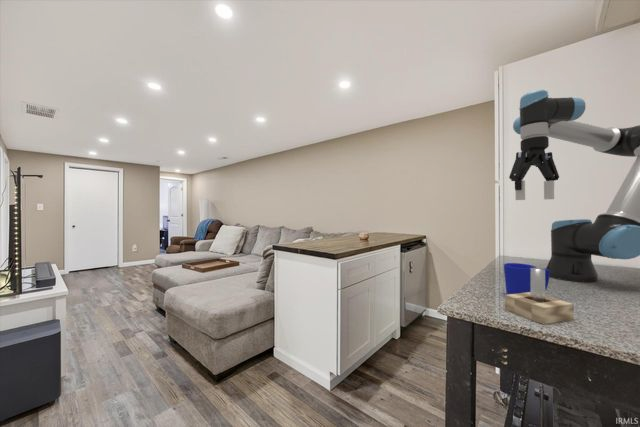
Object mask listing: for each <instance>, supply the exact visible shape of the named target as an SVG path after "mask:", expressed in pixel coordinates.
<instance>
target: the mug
mask: <svg viewBox="0 0 640 427" xmlns="http://www.w3.org/2000/svg"><path fill="white" fill-rule="evenodd" d="M531 268H537V266H534V265H533V264H527V263H517V262H516V263H515V262H508V263H507V262H505V263H504V264H503V271H504V281H505V282H504V283H505V292H506V295H509V294H517V293H526V292H530V284H531ZM540 268H541V269H543V268H542V267H540ZM544 269H545V292H546V290H547V289H548V286H549V282H550V281H549V280H550V276H549V274H550V271H549V270H548V269H546V268H544Z"/></svg>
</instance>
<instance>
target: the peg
mask: <svg viewBox="0 0 640 427" xmlns="http://www.w3.org/2000/svg"><path fill="white" fill-rule="evenodd" d="M541 268H542V267H540V268H539V267H536V268H531V284H530V300H533V301H536V302H539V303H542V302H545V296H546V291H545V269H546V268H542V269H541Z"/></svg>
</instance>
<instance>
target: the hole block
mask: <svg viewBox="0 0 640 427" xmlns="http://www.w3.org/2000/svg"><path fill="white" fill-rule="evenodd" d="M504 310H505V311H508V312H510V313H513V314H515V315H516V314H517V315H518V316H521V317H524V318H527V319H529V320H531V321H534V322H537V323H539V324H541V325H548V324H554V323H561V322H567V321H573V320H574V303H571V302H569V301H564V300H561V299H558V298H555V297H552V296H549V295H545V302H542V303H539V302H536V301H533V300H530V292H526V293H517V294H509V295H508V294H505V295H504Z"/></svg>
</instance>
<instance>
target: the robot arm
mask: <svg viewBox="0 0 640 427" xmlns="http://www.w3.org/2000/svg"><path fill="white" fill-rule="evenodd" d="M518 110H519V117H516V119H515V120H514V121H513V126H512V128H513V131H514V132H515V133H516V134H517V135H520V140H521V141H520V151H518V152H516V153H515V160H514V163H513V165H512V169H511V171H510V173H509V175H508V179H510V181H511V182H514V191H515V192H514V193H515V201H526V180H524V178H525V177H526V175H527V174H528V172H529V170H530V168H531V167H532V166H533V167H534V166H535V167H536V168H537V169H538V170H539V172H540V173H541V175H542V176H543V179H545V180H544V181H543V200H554V199H555V181H558V180H559V179H560V175H559V172H558V169H557V166H556V164H555V161H554V158H553V152H551V151H550V152H546V149H548V148H549V146H550V144H549V142H550V141H549V138H553V139H557V140H561V141H565V142H569V143H573V144H577V145H582V146H585V147H589V148H592V149H593V150H594V151H595V152H599V153H602V154H608V155H614V156H619V157H631V158H632V157H633V158H634V157H635V160H634V162H633V163H632V165H631V167H630V169H629V171H628V173H627V174H626V176H625V178H624V180H623V182H622V183H621V185H620V187H619V189H618V191H617V192H616V194H615V195H614V198H613V199H612V201H611V203H610V204H609V207H608V208H607V210H606V212H604V213H600V214H598V215H597V217H596V218H595V220H594V222H592V220H591V219H587V218H586V219H585V218H584V219H583V218H582V219H564V220H556V221H554V222H552V224H551V229H550V239H551V240H550V242H551V244H550V245H551V252H550V253H551V255H550V259H549V261H548V263H547V266H546V268H545V269H548V270H549V271H550V274H549V278H555V279H558V280H563V281H571V282H579V283H580V282H581V283H593V282H594V283H596V282H598V281H599V276H598V275H599V274H598V273H597V270H596V267H595V266H594V263H593V260H592V256H598V257H603V258H607V259H610V260H611V259H613V260H616V259H617V260H632V259H636V258H638V257H640V125H639V124H638V125H635V126H629V127H623V128H621V127H620V128H618V127H614V126H612V127H607V128H605V127H601V126H596V125H592V124H589V123H583V122H581V121H576V120H578V119H579V118H581V117H582V115H584V113H585V110H586V102H585V100H584V99H583V98H580V97H572V96H571V97H549V91H547V90H545V89H537V90H532V91H528V92H527V93H526V94H524V95H523V94H522V96H521V97H520V100H519V108H518Z"/></svg>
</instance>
